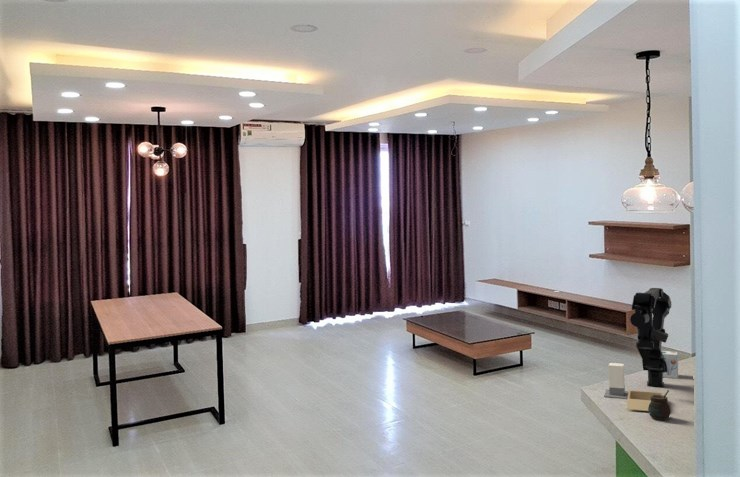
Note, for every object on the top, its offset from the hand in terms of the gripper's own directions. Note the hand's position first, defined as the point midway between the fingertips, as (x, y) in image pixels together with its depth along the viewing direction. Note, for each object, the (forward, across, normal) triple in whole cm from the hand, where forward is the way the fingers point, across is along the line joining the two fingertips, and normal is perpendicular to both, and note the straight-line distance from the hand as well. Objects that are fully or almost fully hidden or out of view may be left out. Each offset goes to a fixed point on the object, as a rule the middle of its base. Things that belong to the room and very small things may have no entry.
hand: (646, 361), depth 250 cm
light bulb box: (+13, +30, -7) cm, 34 cm away
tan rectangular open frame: (+13, -18, 0) cm, 22 cm away
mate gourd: (+13, -33, -5) cm, 36 cm away
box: (+13, -7, +11) cm, 18 cm away
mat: (+13, -7, +11) cm, 18 cm away
